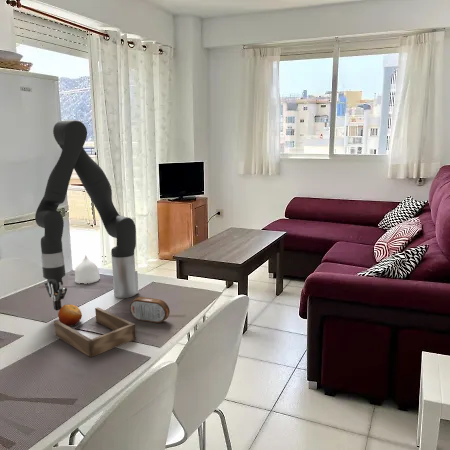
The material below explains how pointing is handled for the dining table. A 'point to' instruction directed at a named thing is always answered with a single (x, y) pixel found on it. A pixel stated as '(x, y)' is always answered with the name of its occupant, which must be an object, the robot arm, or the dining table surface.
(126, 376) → the dining table surface
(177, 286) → the dining table surface
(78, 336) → the wooden u-shaped frame
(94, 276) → the teardrop
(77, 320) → the fruit
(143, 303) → the tin
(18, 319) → the dining table surface
